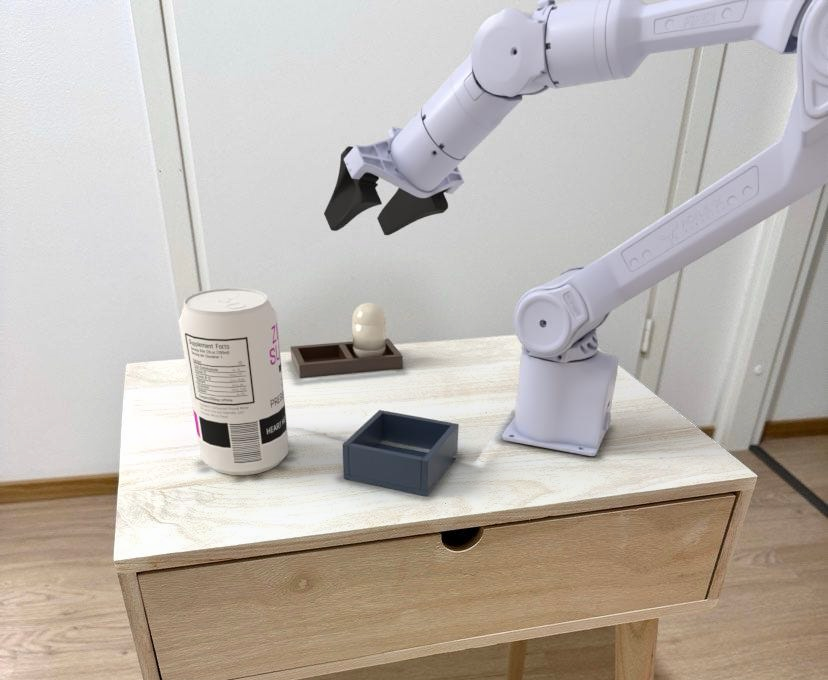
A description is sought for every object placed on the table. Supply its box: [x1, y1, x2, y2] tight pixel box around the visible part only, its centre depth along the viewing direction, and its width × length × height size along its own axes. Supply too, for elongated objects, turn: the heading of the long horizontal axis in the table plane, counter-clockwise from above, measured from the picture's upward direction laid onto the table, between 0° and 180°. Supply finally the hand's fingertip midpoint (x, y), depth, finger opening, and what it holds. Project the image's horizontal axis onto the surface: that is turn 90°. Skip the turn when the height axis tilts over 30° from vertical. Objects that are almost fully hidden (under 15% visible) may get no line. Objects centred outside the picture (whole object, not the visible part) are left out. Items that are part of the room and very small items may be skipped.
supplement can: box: [178, 287, 289, 476], centre depth 68 cm, size 8×8×15 cm
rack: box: [290, 337, 404, 379], centre depth 91 cm, size 7×12×2 cm, turn 106°
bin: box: [341, 409, 460, 497], centre depth 70 cm, size 8×8×4 cm
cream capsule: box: [351, 302, 387, 358], centre depth 90 cm, size 4×4×7 cm
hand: (357, 224), depth 78 cm, fingers open, 7 cm apart
